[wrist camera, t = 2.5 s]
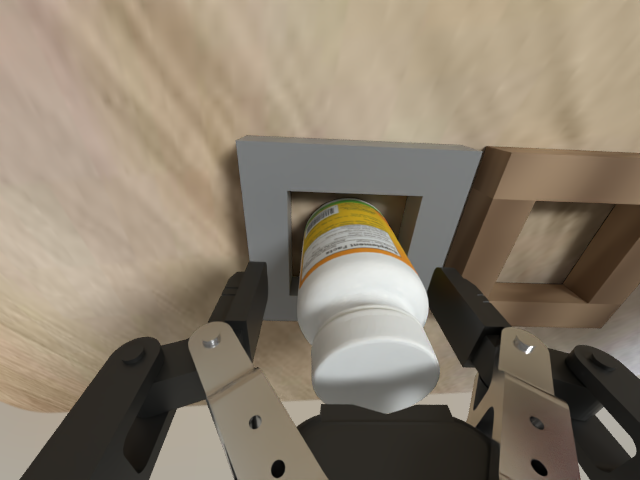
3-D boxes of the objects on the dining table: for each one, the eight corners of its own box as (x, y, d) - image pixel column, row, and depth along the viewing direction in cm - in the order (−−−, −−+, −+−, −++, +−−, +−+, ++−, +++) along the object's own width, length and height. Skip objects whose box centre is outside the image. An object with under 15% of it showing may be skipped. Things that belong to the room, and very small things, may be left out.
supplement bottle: (375, 272, 18) (429, 430, 9) (300, 264, 17) (283, 422, 9) (396, 201, 15) (500, 331, 6) (308, 190, 15) (296, 312, 6)
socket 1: (461, 145, 13) (482, 151, 12) (412, 303, 19) (422, 324, 17) (246, 135, 13) (235, 140, 11) (262, 299, 19) (256, 320, 17)
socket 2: (689, 155, 14) (743, 163, 12) (575, 307, 19) (600, 328, 18) (486, 146, 13) (511, 152, 12) (430, 304, 19) (442, 324, 17)
